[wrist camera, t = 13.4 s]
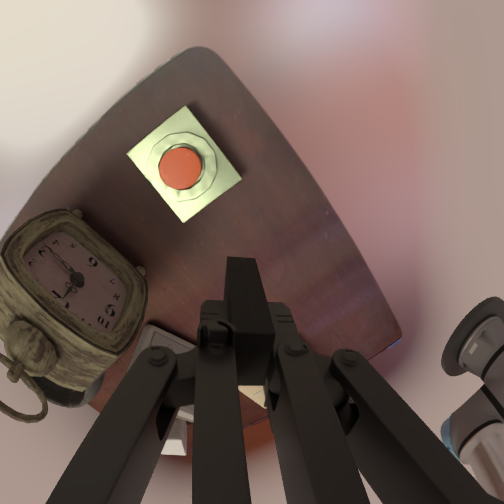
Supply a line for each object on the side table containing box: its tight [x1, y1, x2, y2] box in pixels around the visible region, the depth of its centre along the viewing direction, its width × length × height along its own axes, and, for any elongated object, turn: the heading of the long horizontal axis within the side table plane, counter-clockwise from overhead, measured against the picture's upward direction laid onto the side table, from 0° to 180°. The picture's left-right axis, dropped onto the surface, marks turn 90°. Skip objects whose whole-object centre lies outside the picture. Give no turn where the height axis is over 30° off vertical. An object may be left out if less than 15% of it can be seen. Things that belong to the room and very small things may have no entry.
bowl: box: [22, 372, 105, 408], centre depth 34 cm, size 15×15×10 cm
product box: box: [161, 417, 187, 455], centre depth 44 cm, size 6×6×7 cm
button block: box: [127, 105, 242, 223], centre depth 29 cm, size 10×8×4 cm
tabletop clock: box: [0, 209, 148, 423], centre depth 23 cm, size 14×9×25 cm, turn 43°
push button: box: [159, 147, 202, 189], centre depth 27 cm, size 4×4×2 cm
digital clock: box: [126, 324, 195, 423], centre depth 37 cm, size 16×9×11 cm, turn 42°
